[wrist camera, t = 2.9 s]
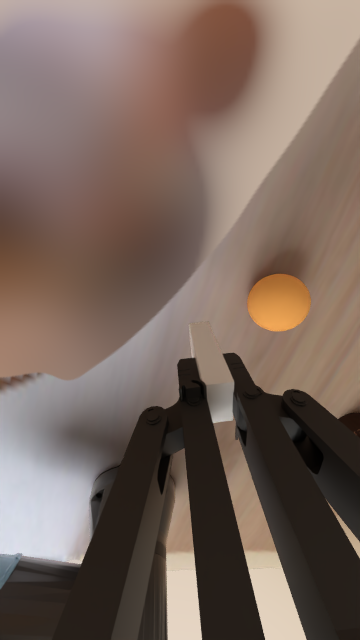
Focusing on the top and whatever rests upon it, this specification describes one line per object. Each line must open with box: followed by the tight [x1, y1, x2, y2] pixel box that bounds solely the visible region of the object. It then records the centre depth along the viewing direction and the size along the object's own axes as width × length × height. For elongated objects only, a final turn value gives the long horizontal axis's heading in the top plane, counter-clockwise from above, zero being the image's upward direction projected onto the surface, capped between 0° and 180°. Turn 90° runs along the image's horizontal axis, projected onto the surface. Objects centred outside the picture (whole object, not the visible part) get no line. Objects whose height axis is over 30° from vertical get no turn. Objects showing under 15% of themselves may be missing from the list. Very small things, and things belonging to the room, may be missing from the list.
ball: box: [247, 274, 311, 331], centre depth 22 cm, size 6×6×6 cm
